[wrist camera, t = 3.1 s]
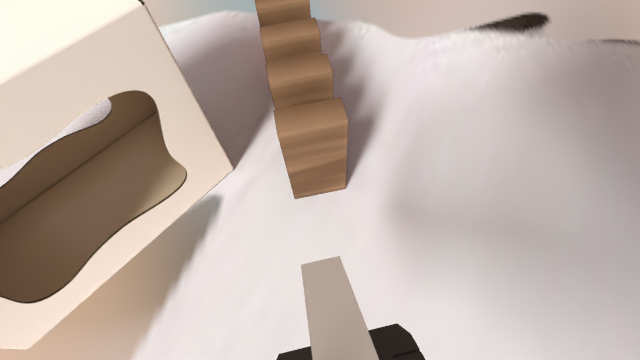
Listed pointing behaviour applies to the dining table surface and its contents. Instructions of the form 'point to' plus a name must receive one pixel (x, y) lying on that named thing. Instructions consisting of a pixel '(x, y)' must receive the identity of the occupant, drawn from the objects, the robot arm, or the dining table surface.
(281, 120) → the domino
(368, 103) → the dining table surface
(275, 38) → the domino
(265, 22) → the domino
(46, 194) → the gable box
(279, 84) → the domino
